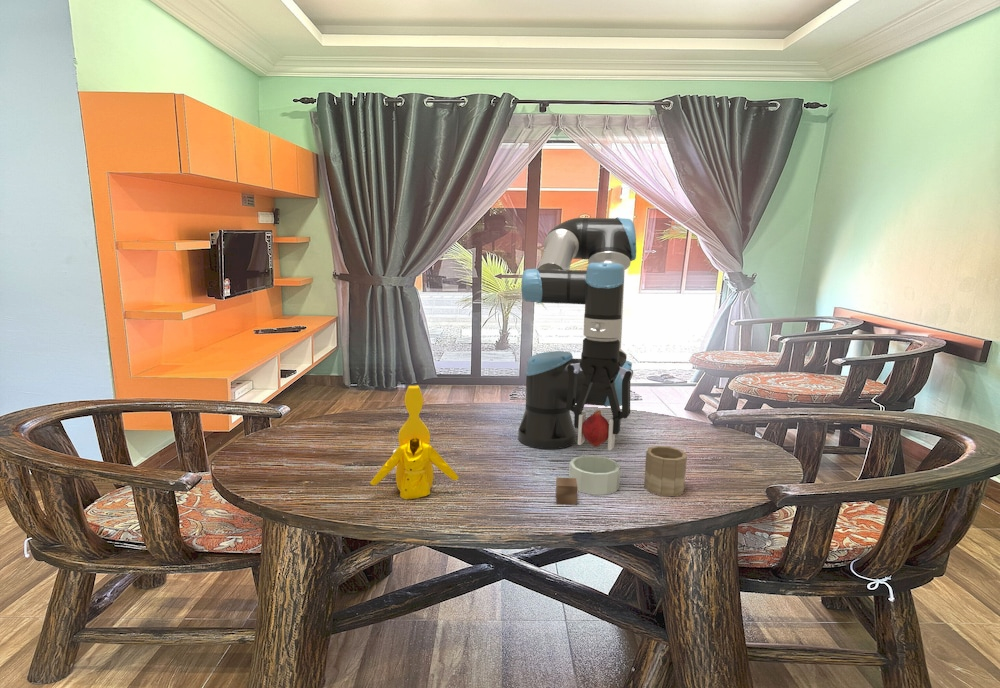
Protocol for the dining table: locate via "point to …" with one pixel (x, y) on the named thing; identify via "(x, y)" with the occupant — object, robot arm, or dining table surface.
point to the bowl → (595, 474)
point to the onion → (596, 429)
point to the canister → (665, 470)
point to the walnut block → (566, 491)
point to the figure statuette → (414, 453)
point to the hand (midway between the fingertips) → (595, 445)
